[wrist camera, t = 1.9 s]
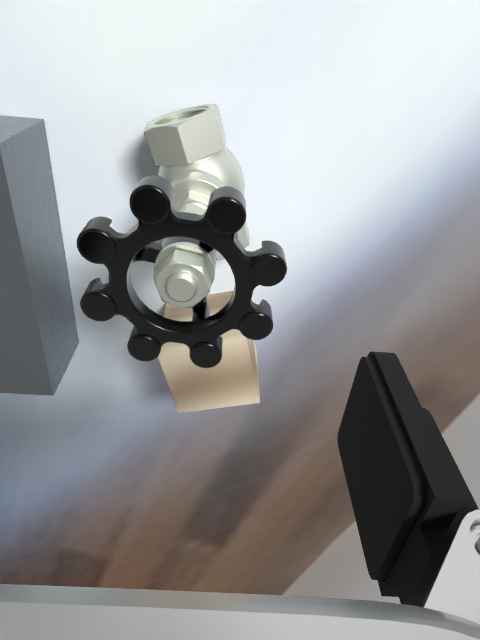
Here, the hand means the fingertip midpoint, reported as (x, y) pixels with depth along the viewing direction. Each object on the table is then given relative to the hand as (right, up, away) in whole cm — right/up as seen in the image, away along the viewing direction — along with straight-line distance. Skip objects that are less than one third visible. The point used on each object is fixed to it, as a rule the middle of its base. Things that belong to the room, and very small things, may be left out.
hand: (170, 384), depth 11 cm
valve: (0, +9, +13) cm, 16 cm away
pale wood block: (0, +1, +18) cm, 18 cm away
